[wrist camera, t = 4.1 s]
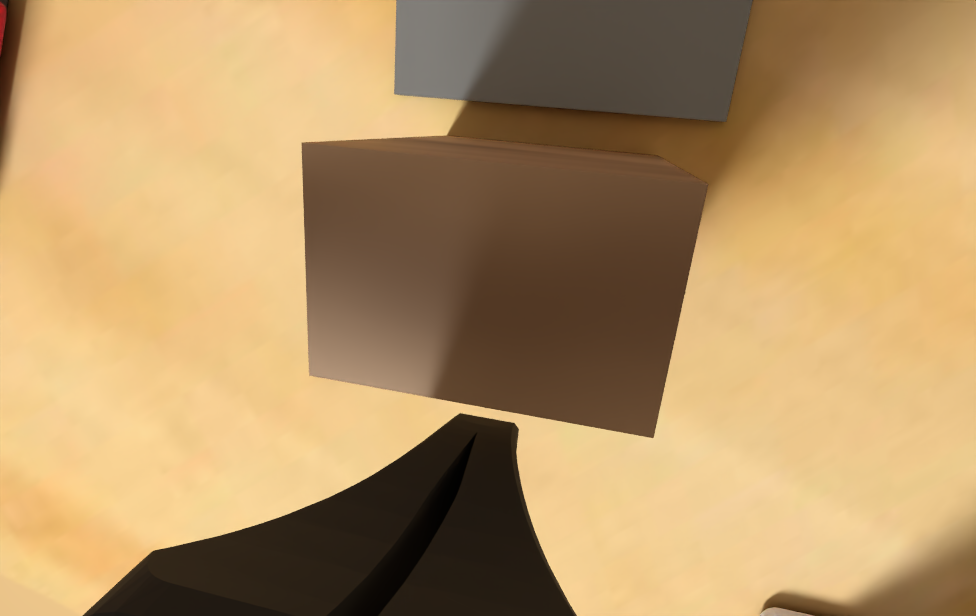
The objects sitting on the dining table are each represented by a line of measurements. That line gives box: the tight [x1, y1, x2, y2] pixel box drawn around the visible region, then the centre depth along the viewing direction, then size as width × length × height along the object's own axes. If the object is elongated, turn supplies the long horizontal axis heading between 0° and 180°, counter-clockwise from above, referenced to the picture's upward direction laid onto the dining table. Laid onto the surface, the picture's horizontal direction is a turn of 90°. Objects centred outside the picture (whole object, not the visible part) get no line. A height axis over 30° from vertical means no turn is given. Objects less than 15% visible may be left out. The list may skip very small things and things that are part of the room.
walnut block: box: [302, 136, 708, 438], centre depth 12 cm, size 4×6×8 cm, turn 85°
